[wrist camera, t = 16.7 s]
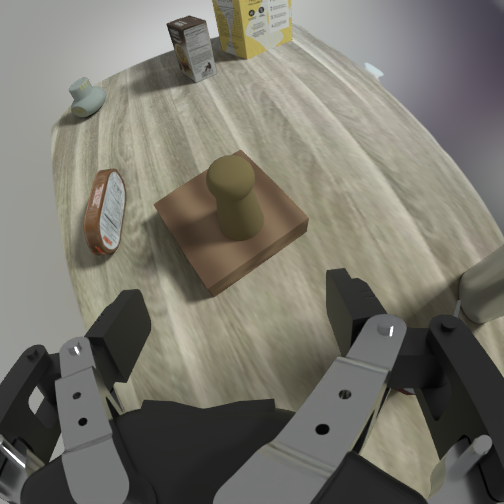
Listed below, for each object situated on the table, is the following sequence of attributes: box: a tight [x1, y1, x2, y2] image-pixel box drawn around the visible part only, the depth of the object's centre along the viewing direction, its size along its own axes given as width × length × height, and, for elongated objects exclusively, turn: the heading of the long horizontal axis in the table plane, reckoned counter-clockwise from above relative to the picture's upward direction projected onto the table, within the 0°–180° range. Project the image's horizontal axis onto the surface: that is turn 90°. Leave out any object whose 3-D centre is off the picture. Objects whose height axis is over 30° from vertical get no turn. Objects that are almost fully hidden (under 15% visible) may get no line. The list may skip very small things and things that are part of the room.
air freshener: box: [69, 77, 106, 117], centre depth 57 cm, size 11×8×10 cm
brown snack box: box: [167, 16, 217, 83], centre depth 54 cm, size 9×6×16 cm
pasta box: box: [212, 0, 292, 59], centre depth 53 cm, size 18×10×28 cm, turn 134°
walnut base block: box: [154, 150, 309, 297], centre depth 41 cm, size 16×16×4 cm
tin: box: [84, 169, 126, 255], centre depth 41 cm, size 15×3×8 cm, turn 5°
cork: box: [206, 155, 264, 241], centre depth 33 cm, size 6×6×11 cm
